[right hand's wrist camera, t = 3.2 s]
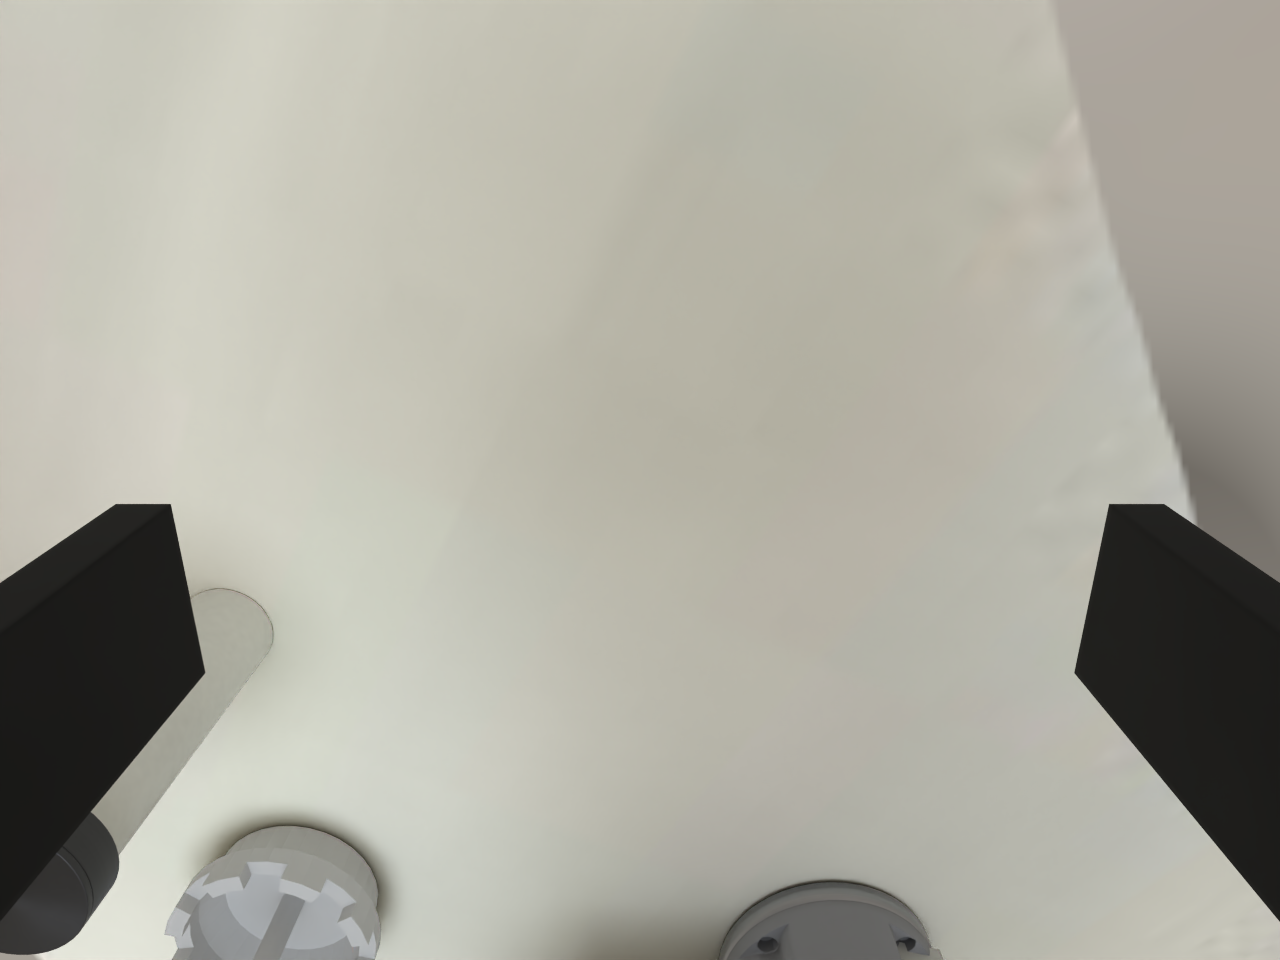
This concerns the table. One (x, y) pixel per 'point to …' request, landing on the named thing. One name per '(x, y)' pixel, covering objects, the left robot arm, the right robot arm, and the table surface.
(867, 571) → the table surface
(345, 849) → the flag stand
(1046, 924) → the table surface
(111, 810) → the jar
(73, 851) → the lid
